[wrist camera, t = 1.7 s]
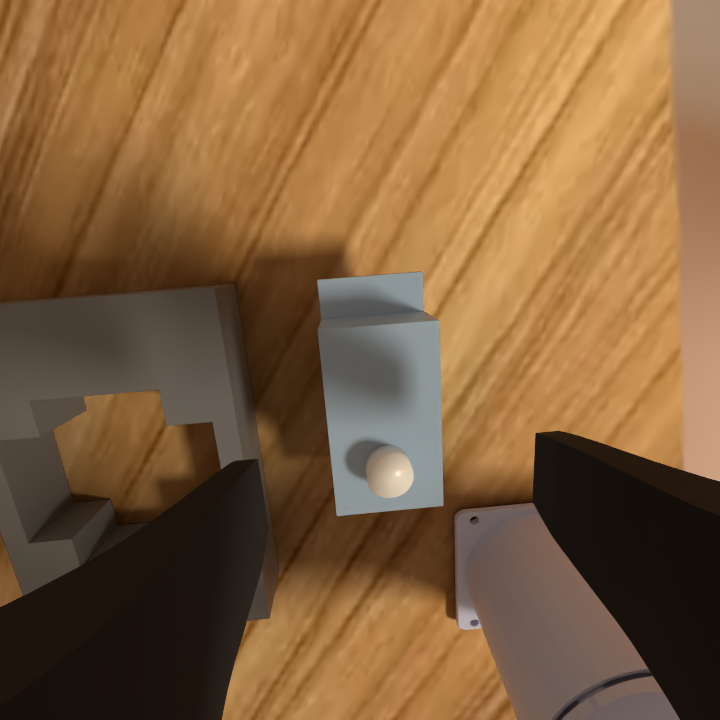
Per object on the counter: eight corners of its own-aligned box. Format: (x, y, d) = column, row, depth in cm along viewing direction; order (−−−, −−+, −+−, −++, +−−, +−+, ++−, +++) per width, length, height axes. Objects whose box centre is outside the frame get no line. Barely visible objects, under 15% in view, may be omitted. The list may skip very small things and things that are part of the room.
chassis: (235, 283, 18) (214, 287, 15) (279, 570, 22) (269, 618, 19) (-10, 302, 17) (-81, 310, 14) (81, 590, 21) (40, 642, 18)
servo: (406, 270, 18) (445, 274, 11) (414, 461, 20) (449, 555, 14) (321, 276, 18) (310, 285, 11) (340, 468, 20) (340, 566, 14)
